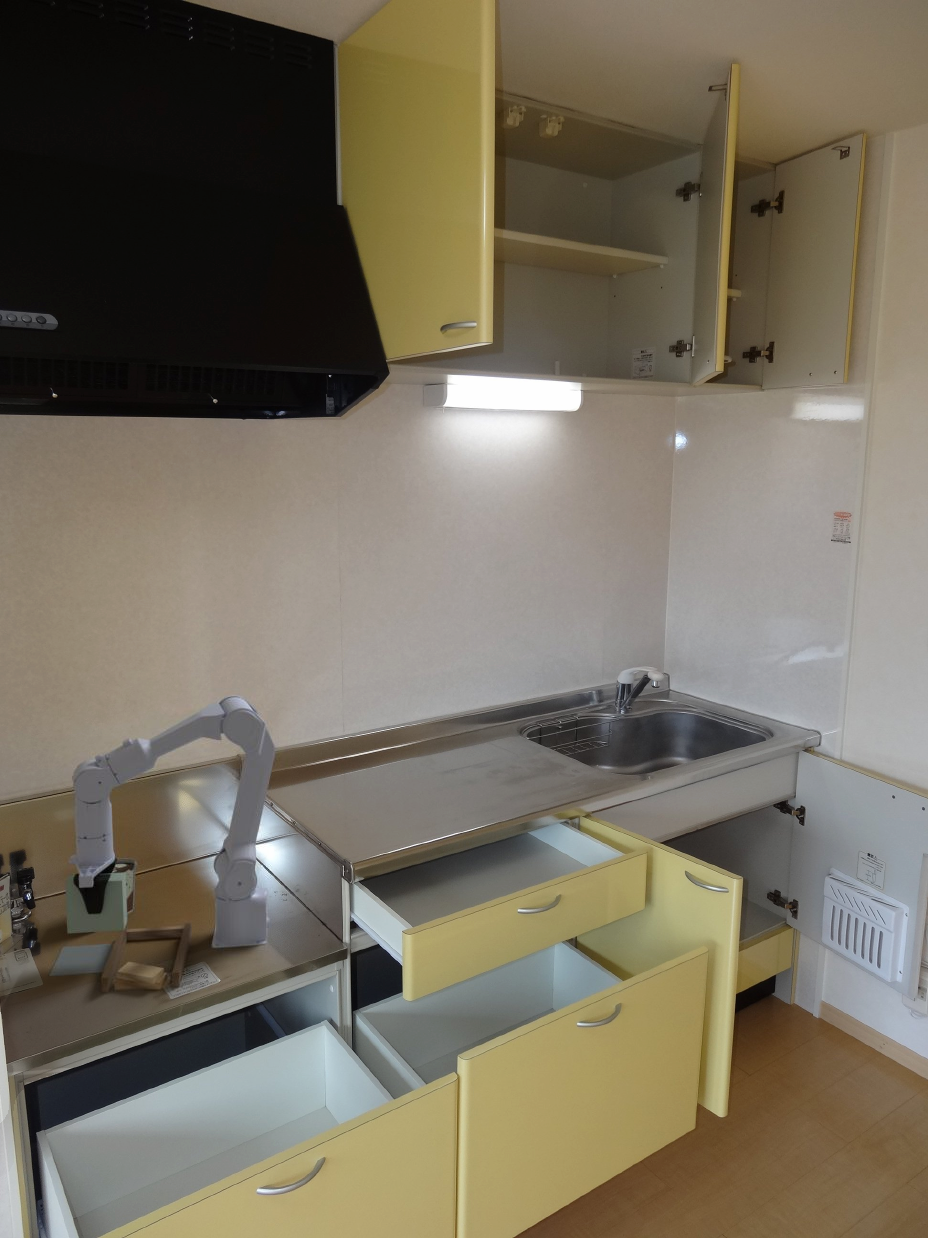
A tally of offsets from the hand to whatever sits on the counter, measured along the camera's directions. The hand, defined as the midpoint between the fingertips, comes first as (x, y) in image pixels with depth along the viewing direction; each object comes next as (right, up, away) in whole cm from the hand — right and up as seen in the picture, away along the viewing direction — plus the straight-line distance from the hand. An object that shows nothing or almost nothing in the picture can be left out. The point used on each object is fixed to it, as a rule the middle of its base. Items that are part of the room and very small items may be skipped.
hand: (97, 907), depth 151 cm
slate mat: (-3, -10, +2) cm, 10 cm away
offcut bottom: (+9, -12, -4) cm, 16 cm away
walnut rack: (+8, -10, +1) cm, 13 cm away
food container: (-6, -7, +16) cm, 19 cm away
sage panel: (0, -4, +1) cm, 4 cm away
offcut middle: (+9, -11, -5) cm, 15 cm away
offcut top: (+9, -10, -5) cm, 14 cm away
